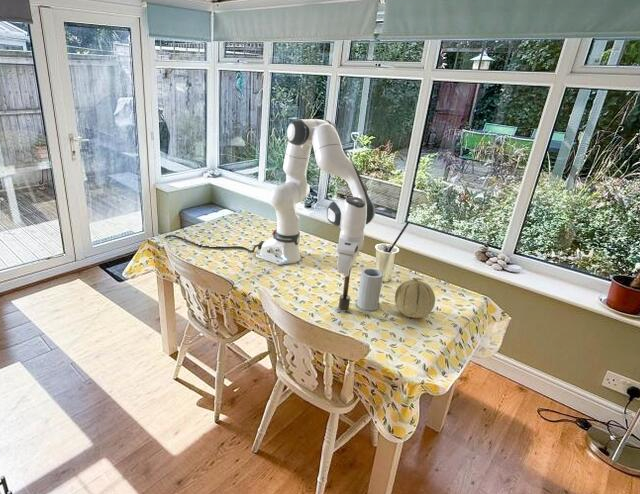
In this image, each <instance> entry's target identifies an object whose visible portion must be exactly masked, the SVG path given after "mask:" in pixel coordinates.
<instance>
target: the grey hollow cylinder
mask: <svg viewBox="0 0 640 494" xmlns="http://www.w3.org/2000/svg"><path fill="white" fill-rule="evenodd" d="M382 278H383V273H382V272H381V271H380V270H378V269H376V268H374V267H364V268H363V269H361V272H360V278H359V287H358V293H357V302H356V305H357V307H358V308H360V309H362V310H363V311H369V312H372V311H376V310H378V309H379V303H380V296H381V291H382V284H383V282H382Z"/></svg>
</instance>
